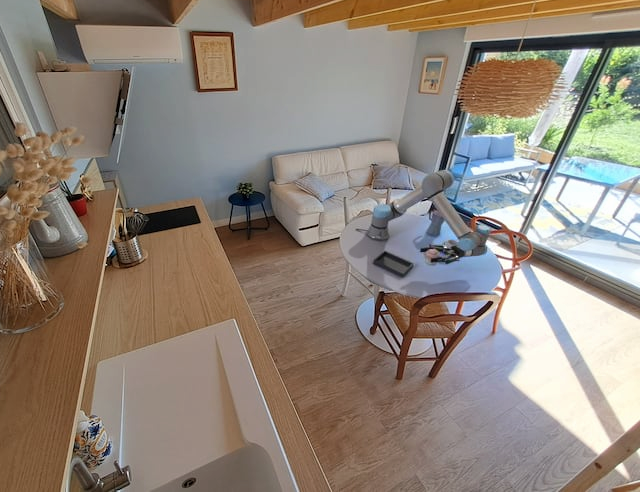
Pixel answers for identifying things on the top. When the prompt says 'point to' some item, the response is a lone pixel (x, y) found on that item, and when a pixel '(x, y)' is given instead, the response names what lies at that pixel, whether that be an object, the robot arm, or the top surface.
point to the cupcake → (431, 256)
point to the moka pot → (435, 223)
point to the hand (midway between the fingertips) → (425, 255)
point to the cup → (450, 243)
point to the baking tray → (393, 263)
